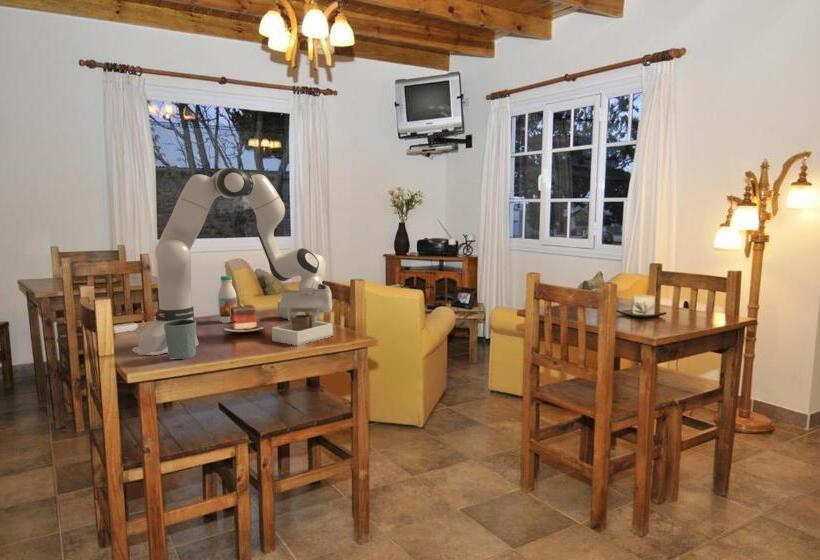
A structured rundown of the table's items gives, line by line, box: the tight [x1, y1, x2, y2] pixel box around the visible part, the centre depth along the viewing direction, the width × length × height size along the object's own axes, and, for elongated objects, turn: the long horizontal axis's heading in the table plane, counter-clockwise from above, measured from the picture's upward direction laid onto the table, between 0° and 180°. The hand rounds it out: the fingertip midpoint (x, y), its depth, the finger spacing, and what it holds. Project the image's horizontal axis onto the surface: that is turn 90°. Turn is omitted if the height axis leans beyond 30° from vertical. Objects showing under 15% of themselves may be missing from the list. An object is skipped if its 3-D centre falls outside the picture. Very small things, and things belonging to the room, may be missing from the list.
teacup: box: [277, 299, 303, 320], centre depth 265 cm, size 14×11×8 cm
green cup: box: [164, 319, 197, 359], centre depth 201 cm, size 10×10×12 cm
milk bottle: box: [217, 275, 238, 324], centre depth 259 cm, size 8×8×20 cm
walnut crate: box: [291, 314, 313, 331], centre depth 226 cm, size 6×6×8 cm
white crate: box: [271, 320, 334, 347], centre depth 226 cm, size 18×14×5 cm
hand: (302, 320), depth 225 cm, fingers open, 8 cm apart
